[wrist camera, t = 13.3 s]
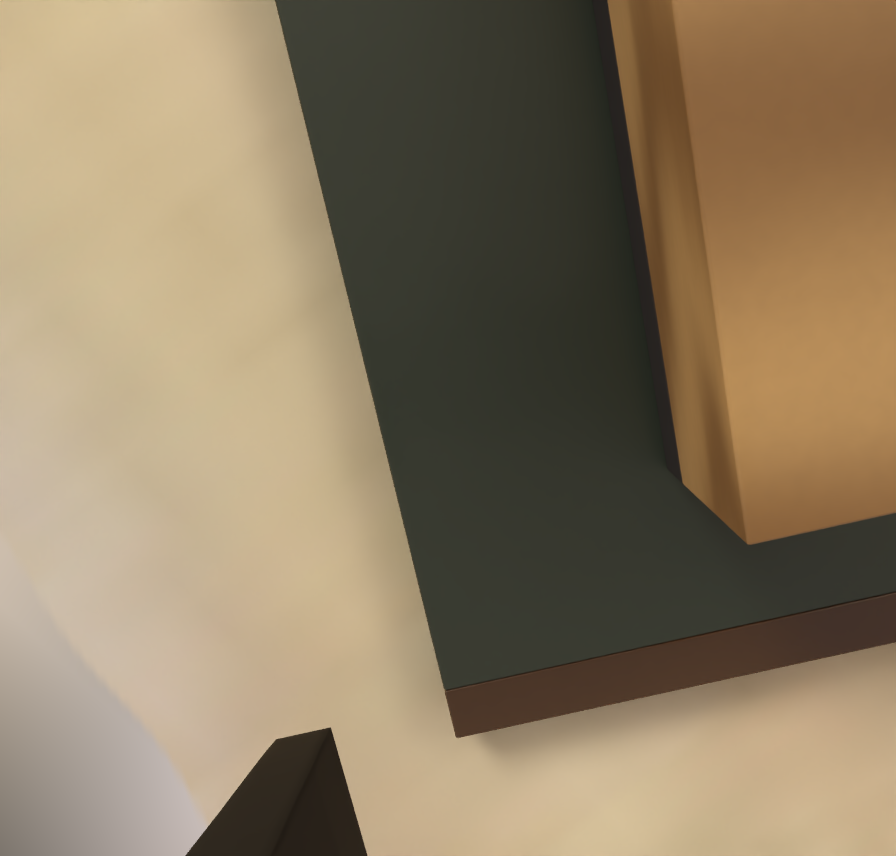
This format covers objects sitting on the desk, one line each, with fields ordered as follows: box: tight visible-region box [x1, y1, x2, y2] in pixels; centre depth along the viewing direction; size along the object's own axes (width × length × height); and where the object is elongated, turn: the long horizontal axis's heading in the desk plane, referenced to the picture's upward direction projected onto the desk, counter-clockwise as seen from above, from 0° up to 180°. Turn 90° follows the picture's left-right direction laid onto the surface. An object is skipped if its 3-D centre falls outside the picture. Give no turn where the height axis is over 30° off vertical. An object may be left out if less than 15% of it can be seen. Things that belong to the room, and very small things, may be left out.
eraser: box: [592, 0, 896, 545], centre depth 13 cm, size 12×5×4 cm, turn 12°
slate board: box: [275, 0, 896, 738], centre depth 16 cm, size 22×18×1 cm
